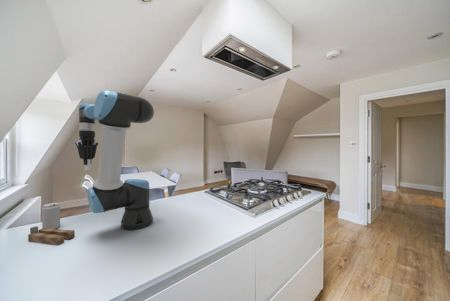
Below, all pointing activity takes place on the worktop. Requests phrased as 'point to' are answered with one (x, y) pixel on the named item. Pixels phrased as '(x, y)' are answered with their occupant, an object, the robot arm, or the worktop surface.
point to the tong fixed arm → (44, 237)
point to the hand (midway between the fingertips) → (87, 170)
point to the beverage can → (51, 216)
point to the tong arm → (58, 232)
